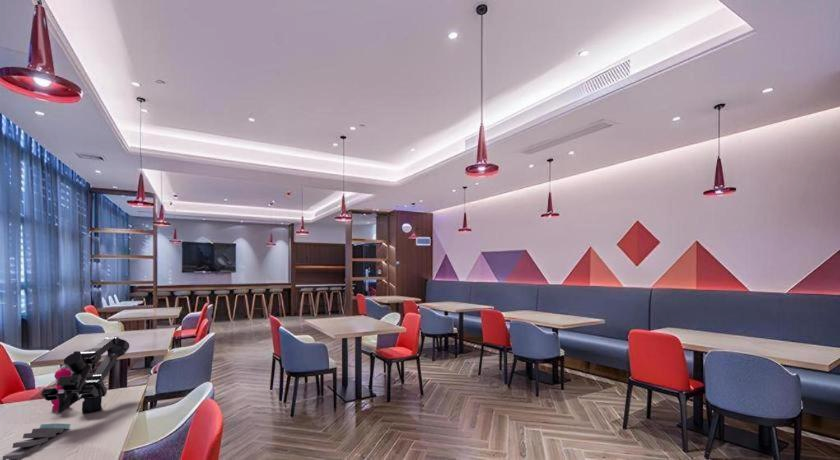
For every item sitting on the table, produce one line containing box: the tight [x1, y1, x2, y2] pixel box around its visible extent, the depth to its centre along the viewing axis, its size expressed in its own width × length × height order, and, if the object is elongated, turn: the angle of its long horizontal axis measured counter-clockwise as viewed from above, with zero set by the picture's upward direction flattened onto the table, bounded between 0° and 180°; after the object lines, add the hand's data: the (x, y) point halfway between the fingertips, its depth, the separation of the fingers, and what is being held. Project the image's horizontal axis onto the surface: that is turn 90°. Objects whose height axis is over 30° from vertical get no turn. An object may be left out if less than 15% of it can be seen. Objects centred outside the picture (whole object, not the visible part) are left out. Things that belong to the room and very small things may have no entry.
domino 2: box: [2, 443, 42, 460], centre depth 144 cm, size 2×5×10 cm
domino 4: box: [31, 427, 65, 434], centre depth 156 cm, size 2×5×10 cm
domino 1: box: [12, 437, 50, 449], centre depth 148 cm, size 2×5×10 cm
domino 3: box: [22, 432, 57, 439], centre depth 152 cm, size 2×5×10 cm
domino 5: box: [39, 422, 71, 430], centre depth 160 cm, size 2×5×10 cm
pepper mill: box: [50, 364, 72, 412], centre depth 188 cm, size 7×7×20 cm
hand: (59, 412), depth 163 cm, fingers closed
